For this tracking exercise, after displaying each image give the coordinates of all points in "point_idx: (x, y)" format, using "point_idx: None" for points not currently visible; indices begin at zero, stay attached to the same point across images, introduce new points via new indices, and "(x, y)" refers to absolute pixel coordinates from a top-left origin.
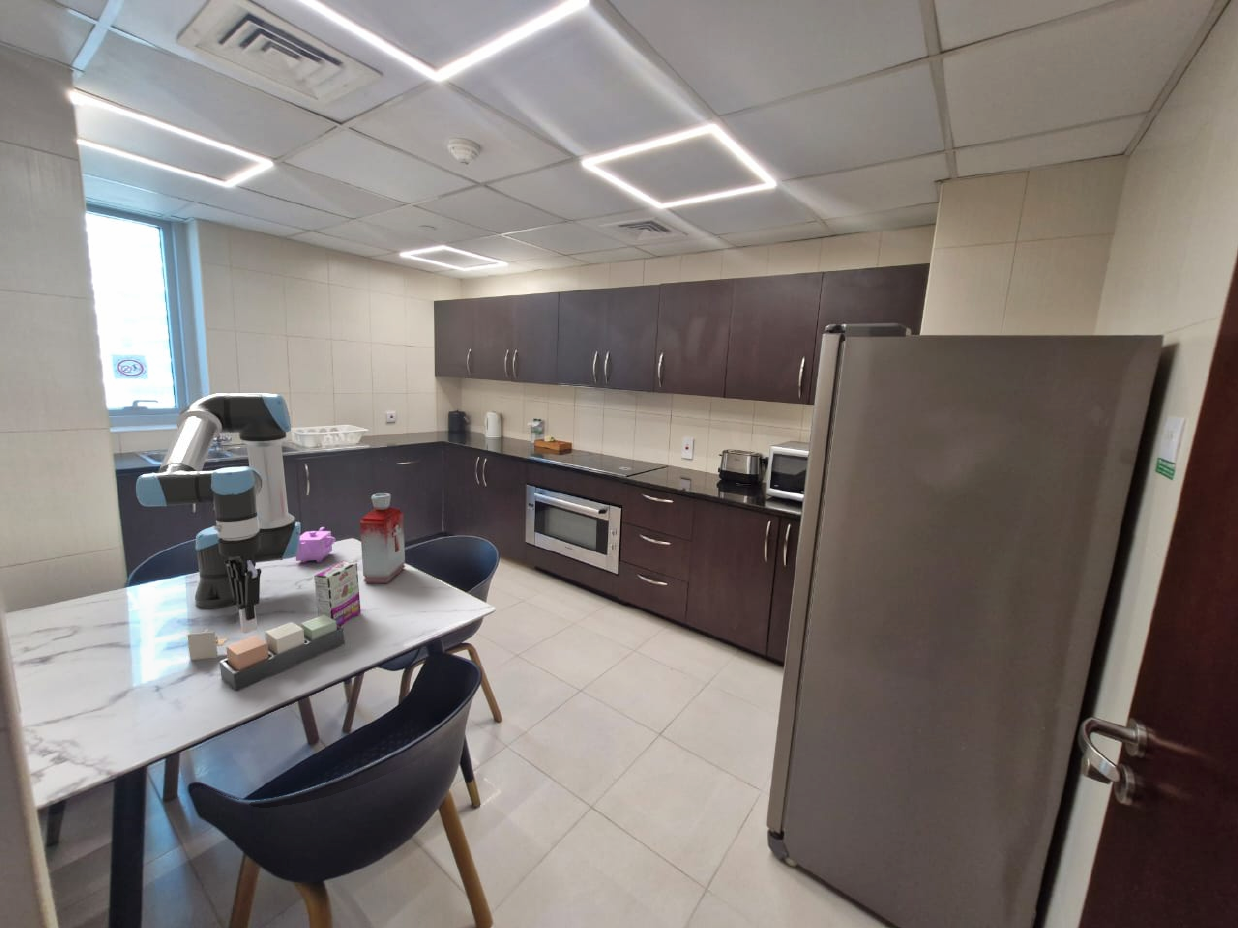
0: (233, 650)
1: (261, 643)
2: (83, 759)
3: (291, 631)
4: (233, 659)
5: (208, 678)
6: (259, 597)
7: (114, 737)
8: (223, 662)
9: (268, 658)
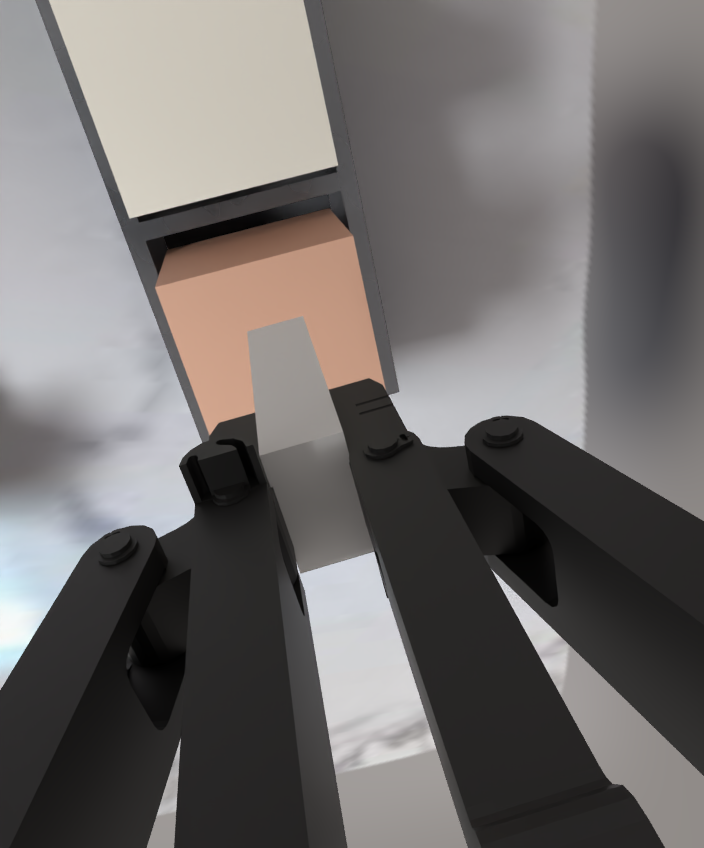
0: None
1: (330, 269)
2: None
3: (263, 21)
4: None
5: (163, 444)
6: (601, 461)
7: (396, 655)
8: None
9: (351, 217)
